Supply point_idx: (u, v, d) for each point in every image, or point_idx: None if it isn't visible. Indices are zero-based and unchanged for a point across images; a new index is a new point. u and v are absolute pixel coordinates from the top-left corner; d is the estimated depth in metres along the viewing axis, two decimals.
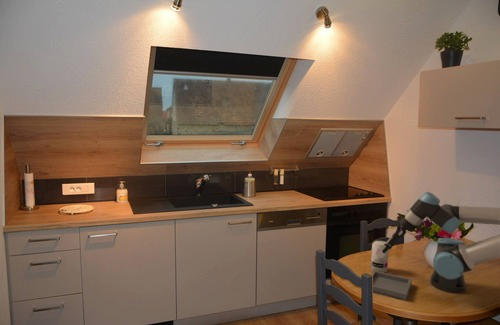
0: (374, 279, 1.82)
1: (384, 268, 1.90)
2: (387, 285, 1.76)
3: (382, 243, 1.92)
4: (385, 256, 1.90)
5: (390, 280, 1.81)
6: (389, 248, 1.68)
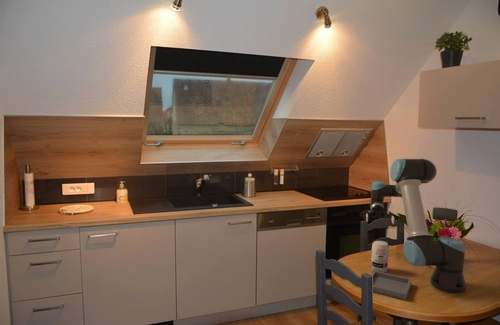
0: (374, 279, 1.82)
1: (384, 268, 1.90)
2: (387, 285, 1.76)
3: (382, 243, 1.92)
4: (385, 256, 1.90)
5: (390, 280, 1.81)
6: None
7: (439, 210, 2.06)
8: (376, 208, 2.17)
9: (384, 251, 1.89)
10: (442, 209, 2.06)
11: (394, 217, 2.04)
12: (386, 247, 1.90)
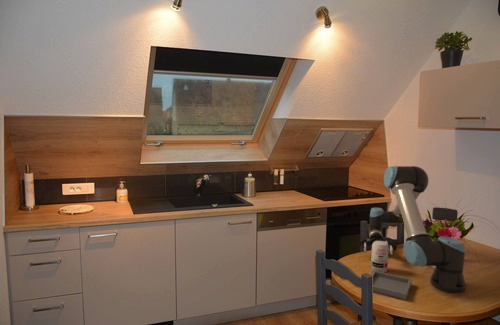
0: (374, 279, 1.82)
1: (384, 268, 1.90)
2: (387, 285, 1.76)
3: (382, 243, 1.92)
4: (385, 256, 1.90)
5: (390, 280, 1.81)
6: None
7: (439, 210, 2.06)
8: (374, 236, 2.17)
9: (384, 251, 1.89)
10: (442, 209, 2.06)
11: (392, 247, 2.04)
12: (386, 247, 1.90)
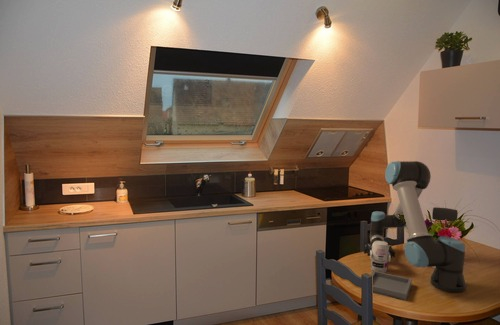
0: (374, 279, 1.82)
1: (384, 268, 1.90)
2: (387, 285, 1.76)
3: (382, 243, 1.92)
4: (385, 256, 1.90)
5: (390, 280, 1.81)
6: (364, 249, 1.98)
7: (439, 210, 2.06)
8: None
9: (384, 251, 1.89)
10: (442, 209, 2.06)
11: (390, 253, 1.93)
12: (386, 247, 1.90)
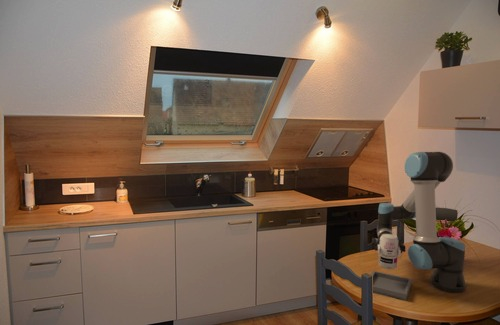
0: (374, 279, 1.82)
1: (393, 264, 1.72)
2: (387, 285, 1.76)
3: (391, 236, 1.74)
4: (394, 250, 1.72)
5: (390, 280, 1.81)
6: (371, 243, 1.80)
7: (439, 210, 2.06)
8: None
9: (393, 245, 1.71)
10: (442, 209, 2.06)
11: (400, 248, 1.75)
12: (396, 240, 1.71)
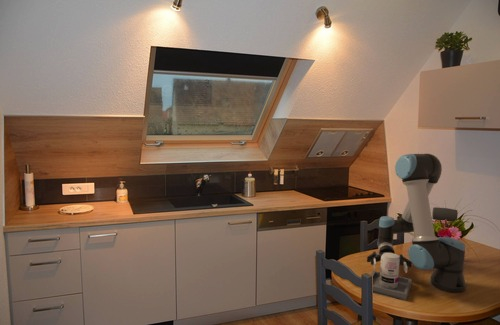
0: (374, 279, 1.82)
1: (394, 283, 1.71)
2: None
3: (392, 255, 1.73)
4: (396, 270, 1.70)
5: None
6: (367, 257, 1.81)
7: (439, 210, 2.06)
8: (385, 250, 1.87)
9: (394, 265, 1.70)
10: (442, 209, 2.06)
11: (407, 263, 1.74)
12: (397, 260, 1.70)
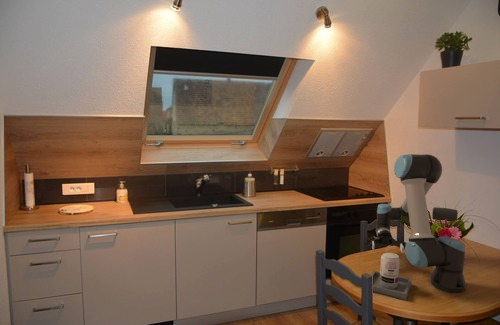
0: (374, 279, 1.82)
1: (394, 283, 1.71)
2: None
3: (392, 255, 1.73)
4: (396, 270, 1.70)
5: None
6: (366, 240, 1.93)
7: (439, 210, 2.06)
8: (383, 234, 2.00)
9: (395, 265, 1.70)
10: (442, 209, 2.06)
11: (403, 245, 1.87)
12: (397, 260, 1.70)
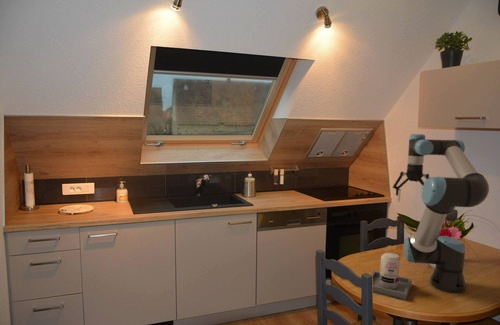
0: (374, 279, 1.82)
1: (394, 283, 1.71)
2: None
3: (392, 255, 1.73)
4: (396, 270, 1.70)
5: None
6: None
7: None
8: None
9: (395, 265, 1.70)
10: None
11: None
12: (397, 260, 1.70)
